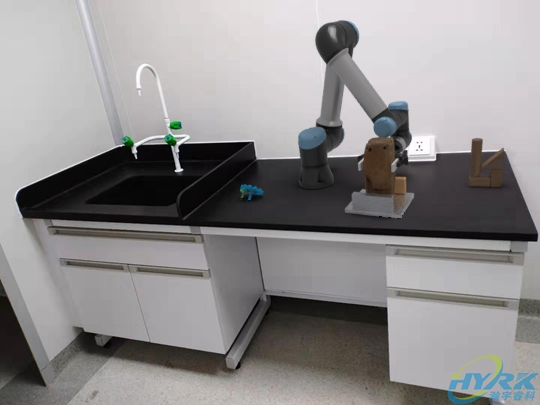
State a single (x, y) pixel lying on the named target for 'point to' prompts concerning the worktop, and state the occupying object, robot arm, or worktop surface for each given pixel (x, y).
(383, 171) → the block
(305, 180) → the robot arm
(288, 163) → the worktop surface
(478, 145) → the wooden block structure
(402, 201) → the base
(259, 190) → the blue bumpy figure
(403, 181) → the block
